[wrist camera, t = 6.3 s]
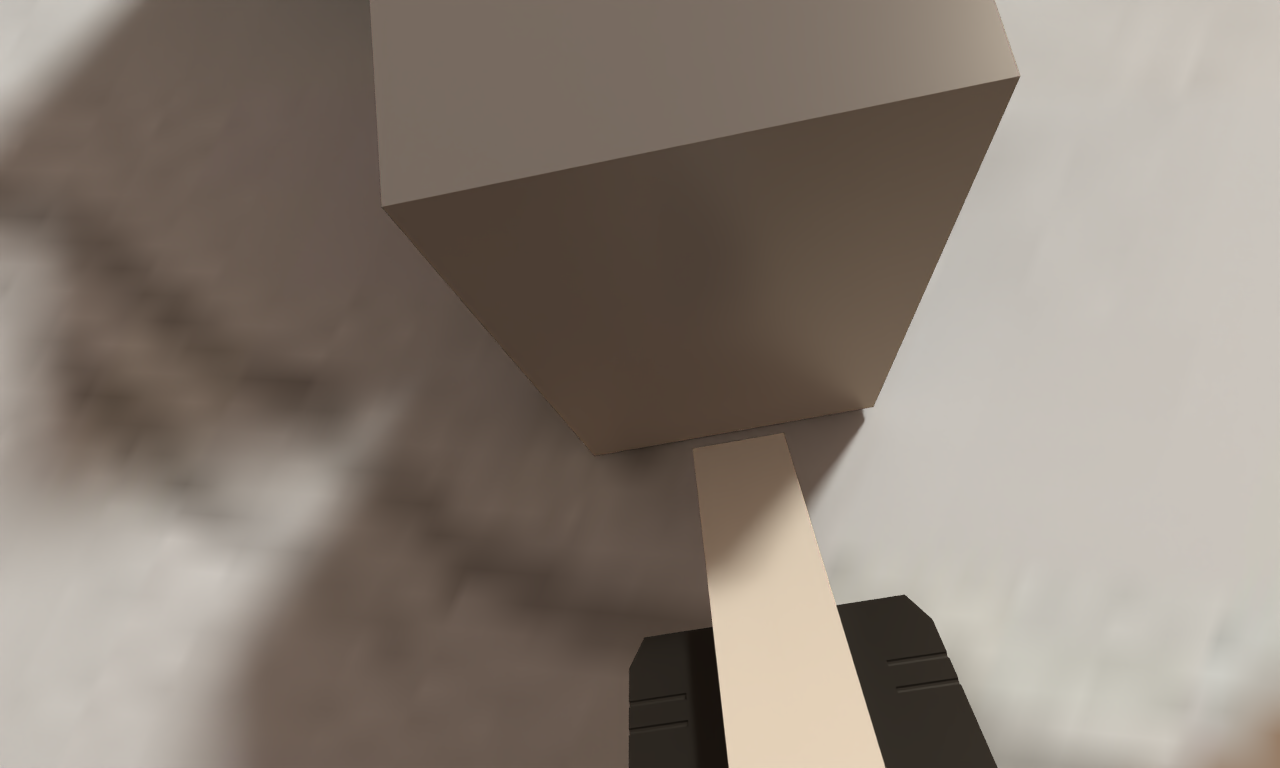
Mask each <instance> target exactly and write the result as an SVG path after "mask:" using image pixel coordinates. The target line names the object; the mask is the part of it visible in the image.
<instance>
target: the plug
mask: <svg viewBox="0 0 1280 768" xmlns="http://www.w3.org/2000/svg"><path fill="white" fill-rule="evenodd" d="M370 17H371V35H372V52H373V69H374V86H375V104H376V121H377V138H378V156H379V173H380V190H381V207H382V208H383V209H384V210H385V212H386V213H387V214H388V215H389V216H390V217H391V219H392V220H393V221H394V222H395V223H396V224H397V226H398V227H399V228H400V229H401V230H402V232H403V233H404V234H405V235H406V236H407V237H408V239H409V240H410V241H411V242H412V243H413V244H414V246H415V247H416V248H417V249H418V250H419V251H420V253H421V254H422V255H423V256H424V257H425V258H426V260H427V261H428V262H429V263H430V264H431V265H432V267H433V268H434V269H435V270H436V271H437V272H438V274H439V275H440V276H441V277H442V278H443V279H444V281H445V282H446V283H447V284H448V285H449V287H450V288H451V289H452V290H453V291H454V292H455V294H456V295H457V296H458V297H459V298H460V299H461V301H462V302H463V303H464V304H465V305H466V306H467V308H468V309H469V310H470V311H471V312H472V313H473V315H474V316H475V317H476V318H477V319H478V320H479V322H480V323H481V324H482V325H483V326H484V327H485V329H486V330H487V331H488V332H489V333H490V334H491V336H492V337H493V338H494V339H495V340H496V341H497V343H498V344H499V345H500V346H501V347H502V349H503V350H504V351H505V352H506V353H507V354H508V356H509V357H510V358H511V359H512V360H513V361H514V363H515V364H516V365H517V366H518V367H519V368H520V370H521V371H522V372H523V373H524V374H525V375H526V377H527V378H528V379H529V380H530V381H531V382H532V384H533V385H534V386H535V387H536V388H537V389H538V391H539V392H540V393H541V394H542V395H543V396H544V398H545V399H546V400H547V401H548V402H549V403H550V405H551V406H552V407H553V408H554V409H555V411H556V412H557V413H558V414H559V415H560V416H561V418H562V419H563V420H564V421H565V422H566V423H567V425H568V426H569V427H570V428H571V429H572V430H573V432H574V433H575V434H576V435H577V436H578V437H579V439H580V440H581V441H582V442H583V443H584V444H585V446H586V447H587V448H588V449H589V450H590V451H591V453H592V454H593V455H594V456H597V455H603V454H609V453H614V452H620V451H626V450H631V449H637V448H643V447H648V446H654V445H660V444H665V443H671V442H677V441H683V440H688V439H694V438H700V437H705V436H711V435H717V434H722V433H728V432H734V431H739V430H745V429H751V428H756V427H762V426H768V425H774V424H779V423H785V422H791V421H796V420H802V419H808V418H813V417H819V416H825V415H830V414H836V413H842V412H847V411H853V410H859V409H864V408H870V407H874V404H875V402H876V400H877V398H878V395H879V393H880V391H881V389H882V386H883V384H884V382H885V380H886V377H887V375H888V373H889V371H890V368H891V366H892V364H893V362H894V359H895V357H896V355H897V353H898V350H899V348H900V346H901V344H902V341H903V339H904V337H905V335H906V332H907V330H908V328H909V326H910V323H911V321H912V319H913V317H914V314H915V312H916V310H917V308H918V305H919V303H920V301H921V299H922V296H923V294H924V292H925V290H926V287H927V285H928V283H929V281H930V278H931V276H932V274H933V272H934V269H935V267H936V265H937V263H938V260H939V258H940V256H941V254H942V251H943V249H944V247H945V245H946V242H947V240H948V238H949V236H950V233H951V231H952V229H953V226H954V224H955V222H956V220H957V217H958V215H959V213H960V211H961V208H962V206H963V204H964V202H965V199H966V197H967V195H968V193H969V190H970V188H971V186H972V184H973V181H974V179H975V177H976V175H977V172H978V170H979V168H980V166H981V163H982V161H983V159H984V157H985V154H986V152H987V150H988V148H989V145H990V143H991V141H992V139H993V136H994V134H995V132H996V130H997V127H998V125H999V123H1000V121H1001V118H1002V116H1003V114H1004V112H1005V109H1006V107H1007V105H1008V103H1009V100H1010V98H1011V96H1012V94H1013V91H1014V89H1015V87H1016V85H1017V82H1018V80H1019V78H1020V73H1019V70H1018V67H1017V64H1016V62H1015V59H1014V56H1013V53H1012V50H1011V47H1010V44H1009V41H1008V38H1007V35H1006V32H1005V29H1004V26H1003V23H1002V20H1001V17H1000V15H999V12H998V9H997V6H996V3H995V0H370Z"/></svg>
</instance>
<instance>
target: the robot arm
mask: <svg viewBox="0 0 1280 768" xmlns="http://www.w3.org/2000/svg"><path fill="white" fill-rule="evenodd" d="M693 457H694V466H695V474H696V483H697V492H698V501H699V510H700V518H701V527H702V536H703V545H704V554H705V562H706V571H707V580H708V589H709V597H710V606H711V615H712V624H713V627H710V628H703V629H697V630H690V631H684V632H678V633H671V634H665V635H658V636H652V637H645V638H644V640H643V642H642V644H641V646H640V648H639V650H638V652H637V654H636V656H635V658H634V660H633V662H632V664H631V666H630V668H629V702H630V708H629V731H630V735H629V768H997V765H996V763H995V761H994V759H993V756H992V754H991V752H990V750H989V747H988V745H987V743H986V740H985V738H984V736H983V734H982V731H981V729H980V727H979V724H978V722H977V720H976V718H975V715H974V713H973V711H972V709H971V706H970V704H969V702H968V699H967V697H966V695H965V693H964V690H963V688H962V686H961V684H959V681H958V677H957V674H956V672H955V670H954V668H953V665H952V663H951V661H950V658H948V656H947V652H946V649H945V647H944V645H943V642H942V640H941V638H940V636H939V633H938V631H937V629H936V627H935V624H934V622H933V620H932V619H931V618H930V617H929V616H928V615H927V614H926V613H925V612H923V611H922V610H921V609H920V608H919V607H918V606H917V605H916V604H915V603H913V602H912V601H911V600H910V599H909V598H908V597H907V596H906V595H900V596H893V597H887V598H880V599H874V600H868V601H861V602H855V603H848V604H842V605H836V603H835V600H834V597H833V593H832V590H831V587H830V583H829V580H828V577H827V574H826V570H825V567H824V564H823V560H822V557H821V554H820V550H819V547H818V544H817V541H816V537H815V534H814V531H813V527H812V524H811V521H810V518H809V514H808V511H807V508H806V504H805V501H804V498H803V494H802V491H801V488H800V485H799V481H798V478H797V475H796V471H795V468H794V465H793V461H792V458H791V455H790V452H789V448H788V445H787V442H786V438H785V435H784V433H779V434H773V435H767V436H761V437H756V438H750V439H744V440H738V441H733V442H727V443H721V444H715V445H710V446H704V447H698V448H693Z"/></svg>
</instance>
